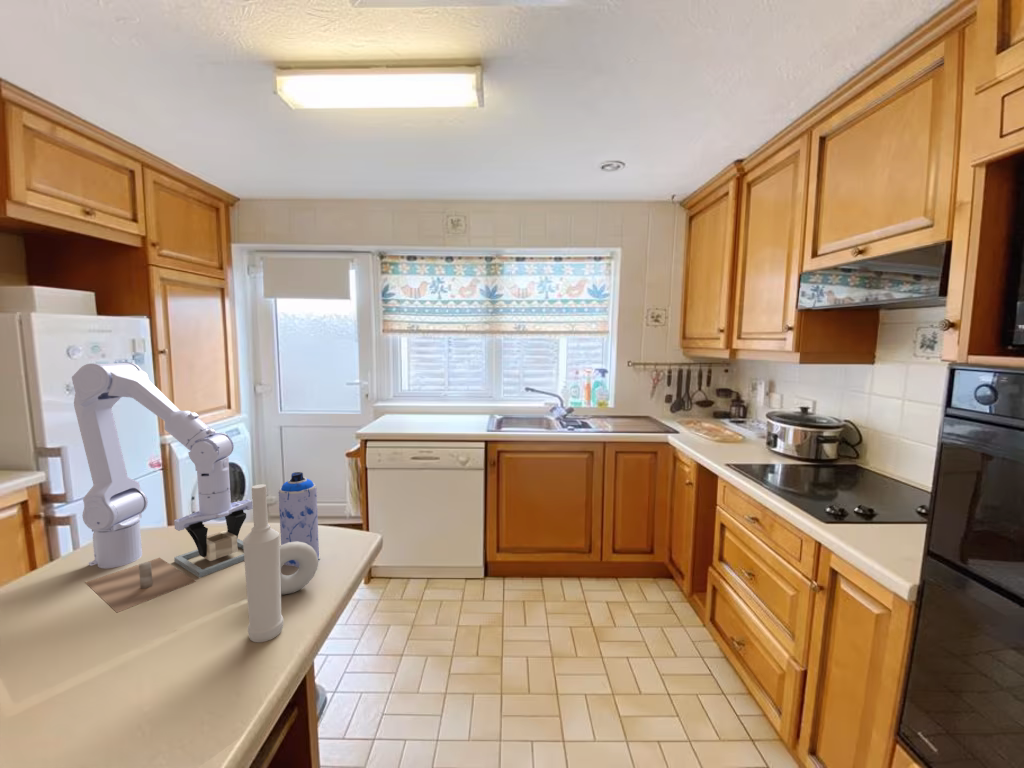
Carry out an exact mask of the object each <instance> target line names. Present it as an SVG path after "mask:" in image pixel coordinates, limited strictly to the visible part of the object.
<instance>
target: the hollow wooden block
mask: <svg viewBox="0 0 1024 768" xmlns="http://www.w3.org/2000/svg"><path fill="white" fill-rule="evenodd" d="M237 539H238V538H237V536H236V535H234V534H232V533H229V532H228V530H222V531H219V532H217V533H213V534H210V535H207V541H206V542H207V555H206V557H203V558H204V559H206V560H207V561H209V562H212V561H216V560H218V559H220V558H224V557H226V556H229V555H232V554H234V553H236V552H239V549H238V548H239V547H237Z"/></svg>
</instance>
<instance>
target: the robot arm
mask: <svg viewBox="0 0 1024 768" xmlns="http://www.w3.org/2000/svg"><path fill="white" fill-rule="evenodd" d="M71 380H72V385H73V389H74V392H75V393H74V399H73V407H74V410H75V414H76V415H75V416H76V419H77V423H78V427H79V430H80V431H79V433H80V436H81V439H82V443H83V448H84V451H85V456H86V460H87V463H88V467H89V472H90V476H91V481H92V487H91V488H90V490H88V492H87V493H86V494H85V495H84V497H83V498H82V501H83V506H84V507H83V511H82V520H83V523H84V524H85V526H86V527H87V528H88V529H90V530H91V532H92V543H93V544H92V547H93V556H94V558H93V559H94V560H92V561H89V562H88V566H90V567H91V566H94V565H97V567H98V568H99V569H100V568H101V569H113V568H118V567H123V566H125V565H126V566H127V565H129V564H131V563H133V562H135V561H137V560H139V559H140V558H142V557H143V549H142V548H143V547H142V535H141V523H140V519H142V516H143V515H142V513H144V511H145V510H146V509H147V507H148V502H149V501H148V498H147V495H146V494H145V493H144V491H143V490H142V489H141V487H140V482H139V481H137V480H135V479H133V478H130V477H129V476H128V473H127V469H126V464H125V459H124V456H123V455H124V454H123V451H122V447H121V442H120V438H119V435H118V431H117V427H116V422H115V418H114V412H113V407H114V406H115V404H116V403H118V402H119V401H120V400H121V398H131V399H134V400H135V401H136V402H138V404H140V405H142V406H143V407H144V408H146V409H147V410H148V411H150V412H151V413H152V414H154V415H155V416H156V417H158V418H160V420H162V421H164V430H165V431H166V432H167V433H168V434H169V435H171V436H172V438H174V439H176V440H177V442H179V443H180V444H181V445H183V446H184V447H185V448H186V449H187V450H189V452H188V453H187V454H188V457H189V460H190V461H192V463H193V464H194V466H195V467H194V468H195V472H196V476H197V494H198V509H199V510H197V511H195V512H192V513H190V514H187V515H185V516H182V517H180V518H177V519H174V520H173V522H174V529H175V530H176V531H179V532H180V531H183V530H186V532H187V533H188V534H189V535H190V537H191V539H192V541H193V542H194V543H195V546H196V547H197V548H196V550H197V549H198V552H199V555H198V556H200V557H202V558H204V557H206V555H207V542H206V541H207V536H208V531H209V528H208V527H206V526H205V524H203V523H206V522H209V521H210V522H211V521H213V520H217V519H219V518H224V519H225V523H226V529H227V530H226V531H227V532H229V533H232V534H234V535H236V536H237V539H239V538H238V537H239V534H240V530H241V528H242V526H243V524H244V522H245V520H246V519H247V513H246V512H244V511H249V510H253V500H251V499H248V498H247V499H244V500H240V501H234V502H232V500H231V498H232V497H231V482H230V463H229V462H230V461H229V460H230V459H229V456H230V455H232V453H233V452H234V451H233V450H234V446H235V445H234V442H233V440H232V439H231V438H230V436H229V435H228V434H226V433H225V432H218V431H216V430H215V429H214V428H211V427H210V426H208V425H207V424H206V423H205V422H204V421H203V420H202V419H200V418H199V417H200V415H199V414H198V413H196V412H195V411H193V412H192V411H191V410H181V409H180V408H178V407H177V406H176V405H175V404H174V403H173V402H172V401H171V400H170V399H169V398H168V397H167V396H166V395H165V394H164V393H163V392H162V391H161V390H160V389H159V388H158V387H157V386H156V385H155V384H154V383H153V382H151V380H150V378H149V374H148V373H147V372H146V371H144V370H143V369H142V368H141V367H140V366H139V365H138V364H136V363H133V362H130V361H123V362H118V363H117V362H116V363H115V362H113V363H87V364H86V363H85V364H84V365H82V366H80V368H79V369H78V370H77V371H76V372H75V373H74V374H73V375H72V376H71Z"/></svg>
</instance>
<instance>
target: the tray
mask: <svg viewBox="0 0 1024 768" xmlns="http://www.w3.org/2000/svg"><path fill="white" fill-rule="evenodd" d="M237 547H238V548H239V549H240V550H241V549H242V550H243V551H244V548H243V539H242V540H241V539H239V538H237ZM198 556H200V555H199V552H198V549H197V548H196V549H195V550H192V551H188V552H186V553H183V554H180V555H176V556H174V559H173V560H174V563H175V564H177V565H178V566H180V567H182V568H183V569H185V570H187V572H189V573H192V574H193V575H194V576H196V577H197V578H199V579H200V578H203V577H206V576H208V575H210V574H213V573H216V572H218V571H220V570H224V569H226V568H228V567H229V568H230V567H231V566H234V565H236V564H239V563H241V562H243V561H244V553H242V554H240V555H239V554H238V555H237V556H234V557H232V558H229V559H226V560H224V561H221V562H218V563H216V564H212V565H211V566H207V567H205V568H203V569H202V568H201V567H199V566H198V565H196V564H194V563H193V562H191V560H190V559H193V558H195V557H198ZM244 562H245V561H244Z"/></svg>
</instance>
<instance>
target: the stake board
mask: <svg viewBox="0 0 1024 768" xmlns="http://www.w3.org/2000/svg"><path fill="white" fill-rule="evenodd" d="M196 582H197V580H194V578H192V577H190V576H189V575H187V574H186V573H184V572H183V571H181V570H180V569H179V568H176V567H175V566H173V564H170V563H169V562H167V561H165V560H164V559H163V558H161V557H157V558H155V559H151V560H148V561H145V562H142V563H139V564H136V565H133V566H130V567H126V568H124V569H122V570H119V571H118V570H117V571H116V572H112V573H109V574H107V575H103V576H101V577H98V578H94V579H91V580H89V581H85V582H84V583H85V584H86V585H87V586H88V587H89V588H90V589H91V590H92V591H93V592H95V594H97V595H98V597H99V598H101V599H102V601H104V602H105V603H106V604H107V605H108V606H109V607H110V608H111V609H112V610H113V611H115V613H120V612H123V611H125V610H127V609H130V608H132V607H135V606H138V605H140V604H143V603H145V602H147V601H150V600H152V599H153V600H154V599H155V598H159V597H160V596H162V595H165V594H168V593H170V592H174V591H177V590H178V589H181V588H183V587H186V586H189V585H191V584H194V583H196Z"/></svg>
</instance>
